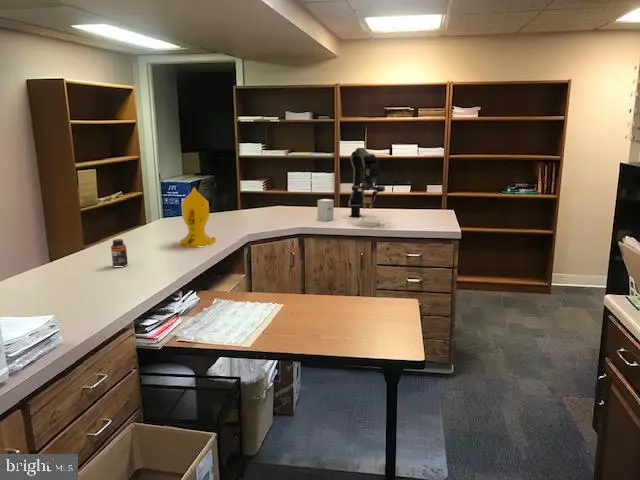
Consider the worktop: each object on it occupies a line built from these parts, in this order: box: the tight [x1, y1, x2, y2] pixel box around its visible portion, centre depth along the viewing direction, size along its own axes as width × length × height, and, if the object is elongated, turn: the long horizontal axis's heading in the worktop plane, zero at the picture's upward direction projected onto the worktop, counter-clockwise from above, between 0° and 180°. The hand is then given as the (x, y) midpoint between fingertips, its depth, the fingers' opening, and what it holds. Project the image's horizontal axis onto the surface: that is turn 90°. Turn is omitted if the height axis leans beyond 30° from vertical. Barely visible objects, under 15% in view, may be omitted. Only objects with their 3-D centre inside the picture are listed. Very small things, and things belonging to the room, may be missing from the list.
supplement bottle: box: [110, 238, 129, 267], centre depth 218 cm, size 6×6×11 cm
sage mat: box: [354, 219, 381, 228], centre depth 307 cm, size 12×12×1 cm
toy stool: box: [362, 196, 374, 210], centre depth 304 cm, size 5×5×6 cm
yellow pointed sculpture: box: [179, 187, 217, 247], centre depth 256 cm, size 18×24×28 cm
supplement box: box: [316, 198, 334, 222], centre depth 319 cm, size 7×7×13 cm
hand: (368, 202), depth 304 cm, fingers closed on toy stool, 5 cm apart
